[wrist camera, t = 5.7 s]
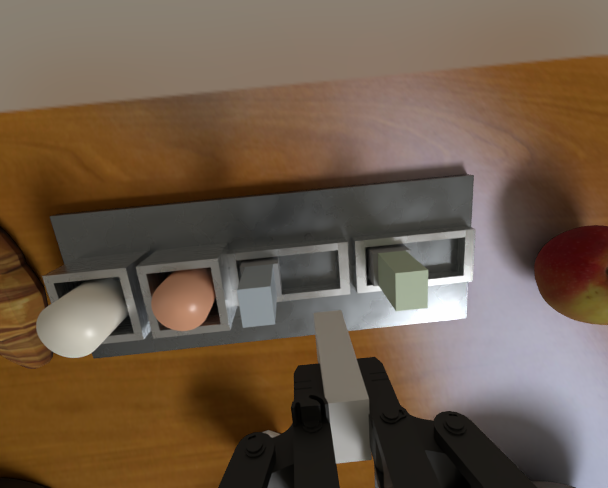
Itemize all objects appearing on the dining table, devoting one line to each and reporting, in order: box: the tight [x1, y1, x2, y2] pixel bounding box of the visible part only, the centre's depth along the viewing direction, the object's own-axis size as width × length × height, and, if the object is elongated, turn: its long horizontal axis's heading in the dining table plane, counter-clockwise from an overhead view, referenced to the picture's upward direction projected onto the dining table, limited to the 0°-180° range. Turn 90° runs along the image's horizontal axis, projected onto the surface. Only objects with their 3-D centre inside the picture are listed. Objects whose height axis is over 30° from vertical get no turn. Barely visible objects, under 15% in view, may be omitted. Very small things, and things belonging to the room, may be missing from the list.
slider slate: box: [237, 256, 282, 328], centre depth 25 cm, size 3×3×6 cm
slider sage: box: [367, 244, 428, 311], centre depth 25 cm, size 3×3×6 cm
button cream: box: [36, 277, 129, 358], centre depth 24 cm, size 4×4×4 cm
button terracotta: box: [151, 267, 216, 331], centre depth 26 cm, size 4×4×4 cm
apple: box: [534, 225, 608, 325], centre depth 27 cm, size 8×8×8 cm
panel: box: [42, 174, 475, 358], centre depth 27 cm, size 34×13×5 cm, turn 95°
